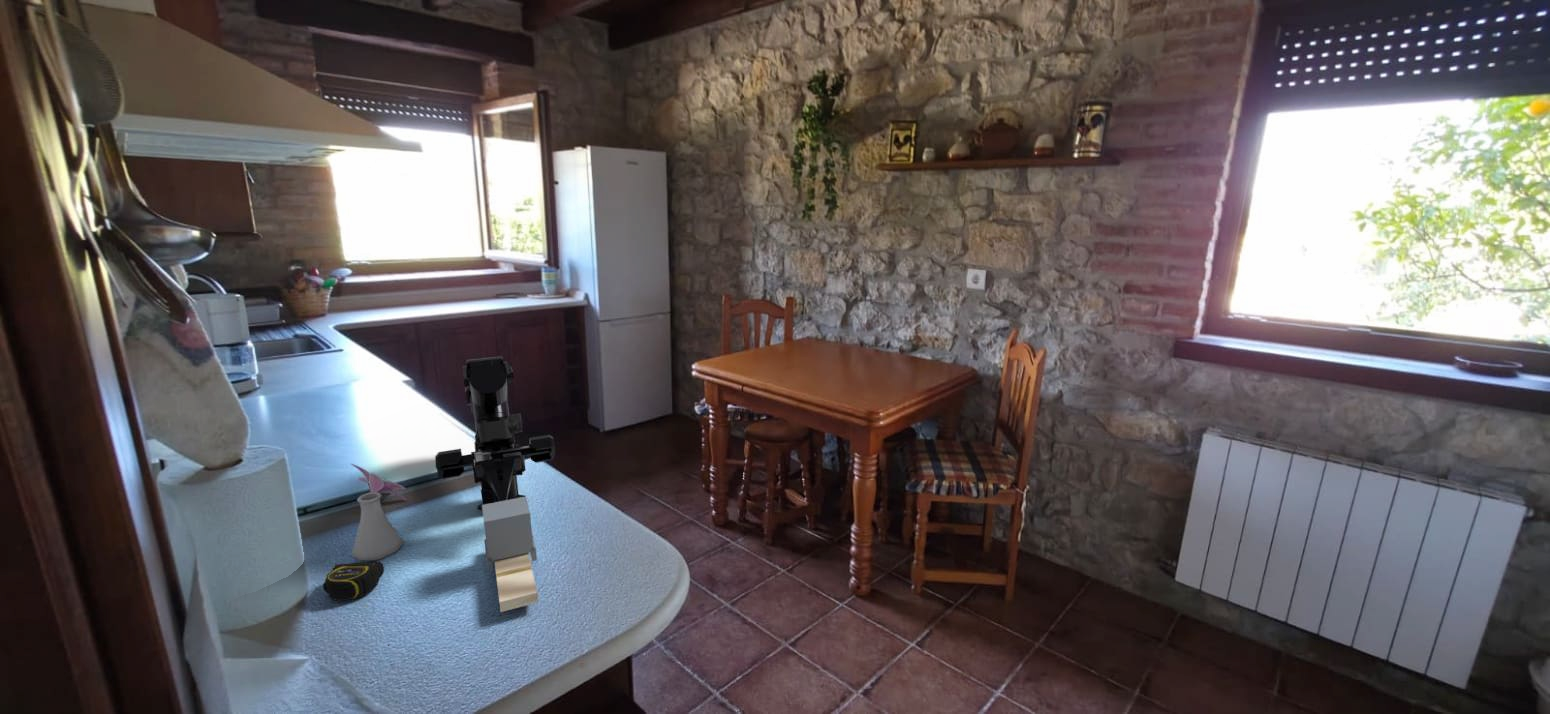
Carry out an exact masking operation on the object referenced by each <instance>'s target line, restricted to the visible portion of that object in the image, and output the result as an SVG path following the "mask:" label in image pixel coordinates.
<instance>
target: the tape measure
mask: <svg viewBox="0 0 1550 714" xmlns="http://www.w3.org/2000/svg"><path fill="white" fill-rule="evenodd" d="M384 571H385V566H384V563H383V562H382V561H381V560H379V561H378V560H364V561H358V562H356V561H355V562H347V563H339V564H335V565H334V567H333V568H332V570H331V571H329V572H328V574H327V575H326V577H325V580H324V583H323V585H322V589H323V591H324V592H325V593H326V594H328V595H327V596H328V598H329V599H331V600H335V601H347V600H353V599H358V598H360V597H362V596H365V595H367V594H369V593H370V592H371V591H373V590H375V588H376V587H377V586H378V585H379V582H380V579H381V577H382V576H383V574H384V573H385V572H384Z"/></svg>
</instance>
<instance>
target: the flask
mask: <svg viewBox="0 0 1550 714" xmlns="http://www.w3.org/2000/svg"><path fill="white" fill-rule="evenodd" d="M381 498H382V493H378V492H367V493H364V494H361V495H360V496H359V497H358V498H357V499H356V501H357V502H358V503H359V506H360V521H359V525H358V529H357V533H356V536H355V541H354V544H353V547H352V550H351V551H352V552H351V555H350V556H351V557H354V558H355V559H357V560H359V561H378V560H381V559H383V558H385V557H387V556H389V555H391V554H394V553H396V552H397V551H399V550H400V548H401V547H402V545H403V544H404V543H405V541H404V539H403V538H402V537H401V535H400V534H399V533H398V531H397V529H395V527H394V526H393V524H392V523H391V522H390V520H389V518H388V517H387V515H386V514H385V511H384V509H383V507H382V504H381Z"/></svg>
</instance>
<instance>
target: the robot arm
mask: <svg viewBox="0 0 1550 714" xmlns="http://www.w3.org/2000/svg"><path fill="white" fill-rule="evenodd" d="M462 373H463V374H462V375H463V382H464V383H463V384H464V392H465V397H466V403H467V406H470V408H471V413H472V414H473V417H474V424H475V425H474V426H475V432H476V433H475V435H474V443H473V444H474V451H471V452H470V453H471V454H470V453H469V454H463V453H462V449H461V448H456V449H451V450H450V449H449V450H444V451H438V452H437V453H436V455H435V456H434V458H435V459H434V461H435V468H436V472H437V475H438V479H443V480H444V479H449V478H451V479H452V478H455V477H456V478H457V477H460V476H461V475H462V474H463V473H464V472H465V467H471V466H472V470H473V471H472V472H473V478H474V484H478V483H480V487H481V489H480V493H481V494H480V495H481V503H479V505H477V506H476V509H477V510H479V511H483V510H482V505H484V504H490V503H495V502H500V501H505V500H510V499H516V498H521V497H526V498H527V496H526V495H525V494H519V485H518V478H517V476H523V475H524V474H523V473H524V472H526V462H525V460H526V457H530V460H531V461H532V462H534V463H535V464H537V463H543V462H548V461H552V460H554V459H555V454H556V443H555V438H554V437H553V436H552V435H550V434H546V435H540V436H533V437H529V444H527V445H520V444H516V440H515V436H514V434H518V433H522V432H523V430H524V429H523V422H522V421H523V420H522V416H521V412H520V413H519V412H517V413H511V414H510V411H509V404H508V401H509V389H508V383H512V379H515V377H514V371H513V368H512V366H510V364H509V363H508V361H504V358H503V356H493V357H482V358H471V359H466V365H465V366H464V365H463V366H462Z"/></svg>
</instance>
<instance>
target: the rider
mask: <svg viewBox="0 0 1550 714" xmlns="http://www.w3.org/2000/svg"><path fill="white" fill-rule="evenodd" d="M481 511H482V518H483V527H484V535H485V538H484V549H485V550H484V551H485V559H486V566H487V572H493V570H494V569H493V562H495V561H494V560H498V559H503V558H507V557H511V556H516V555H520V554H524V553H529V554H530V556H531V558H530V559H531V562H536V561H538V558H537V547H536V542H535V539H534V535H533V528H532V520H531V519H532V518H531V511H530V508H529V504H528V498H527V496H526V497H521V498H516V499H510V500H505V501H500V502H495V503H490V504H484V505H482V510H481Z"/></svg>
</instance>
